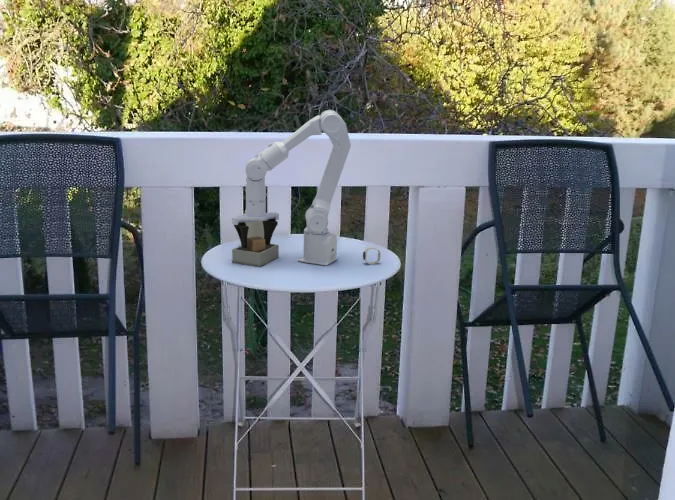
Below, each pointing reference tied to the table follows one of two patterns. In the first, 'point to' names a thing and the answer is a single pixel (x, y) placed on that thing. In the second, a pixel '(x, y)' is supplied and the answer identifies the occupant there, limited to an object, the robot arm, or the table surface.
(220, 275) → the table surface
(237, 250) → the bin
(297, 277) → the table surface
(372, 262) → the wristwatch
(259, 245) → the walnut block
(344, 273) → the table surface
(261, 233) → the can
